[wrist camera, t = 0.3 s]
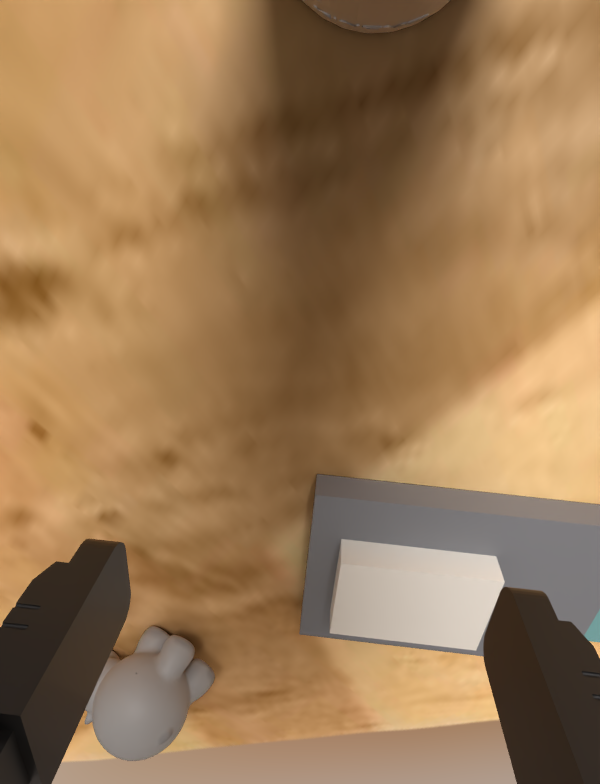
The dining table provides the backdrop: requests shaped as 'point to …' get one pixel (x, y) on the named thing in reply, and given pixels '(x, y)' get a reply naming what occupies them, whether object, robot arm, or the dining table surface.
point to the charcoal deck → (457, 542)
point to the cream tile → (413, 594)
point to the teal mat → (594, 629)
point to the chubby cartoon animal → (147, 695)
